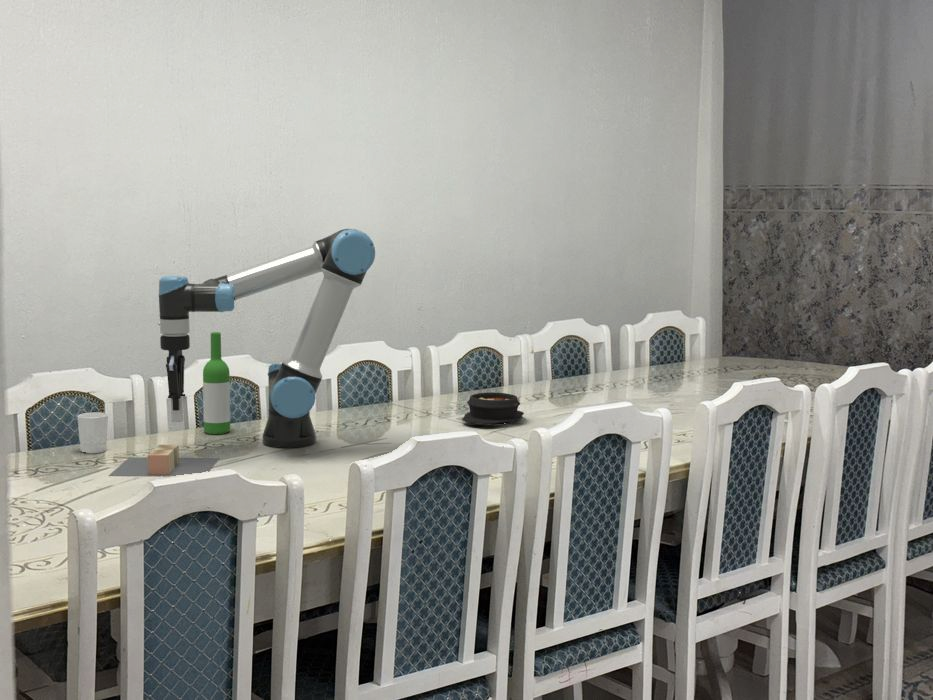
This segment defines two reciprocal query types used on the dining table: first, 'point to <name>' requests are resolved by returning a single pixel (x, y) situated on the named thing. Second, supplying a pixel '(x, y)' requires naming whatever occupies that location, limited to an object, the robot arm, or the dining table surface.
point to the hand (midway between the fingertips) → (177, 421)
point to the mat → (185, 466)
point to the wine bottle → (216, 390)
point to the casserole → (493, 408)
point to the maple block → (163, 459)
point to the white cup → (93, 432)
